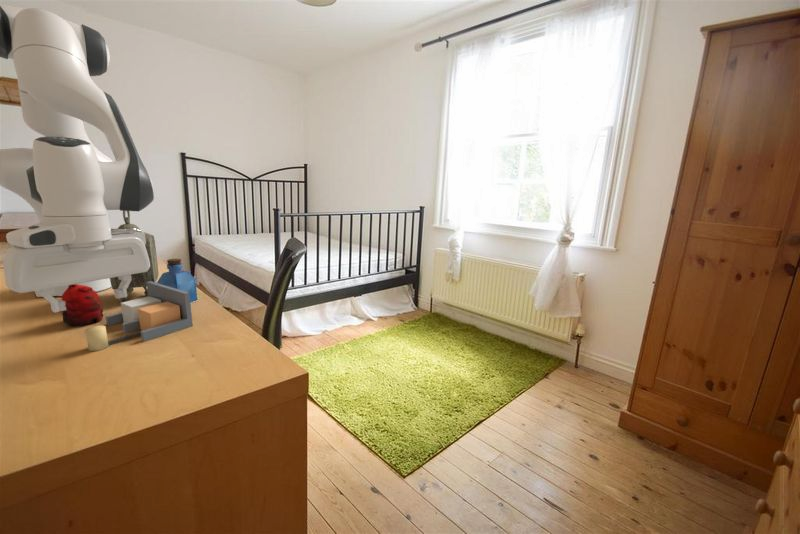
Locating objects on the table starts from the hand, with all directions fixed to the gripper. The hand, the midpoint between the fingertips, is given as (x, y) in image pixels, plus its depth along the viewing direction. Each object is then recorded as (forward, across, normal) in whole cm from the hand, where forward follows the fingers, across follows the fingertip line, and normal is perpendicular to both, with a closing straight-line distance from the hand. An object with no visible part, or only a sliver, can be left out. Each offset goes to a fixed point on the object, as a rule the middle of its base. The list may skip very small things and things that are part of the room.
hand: (92, 303), depth 66 cm
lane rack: (+9, -11, -4) cm, 15 cm away
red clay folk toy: (+9, -4, -18) cm, 21 cm away
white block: (+9, -12, -8) cm, 17 cm away
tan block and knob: (+9, -7, -1) cm, 11 cm away
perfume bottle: (+9, -23, -14) cm, 29 cm away
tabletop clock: (+9, -20, -28) cm, 36 cm away
